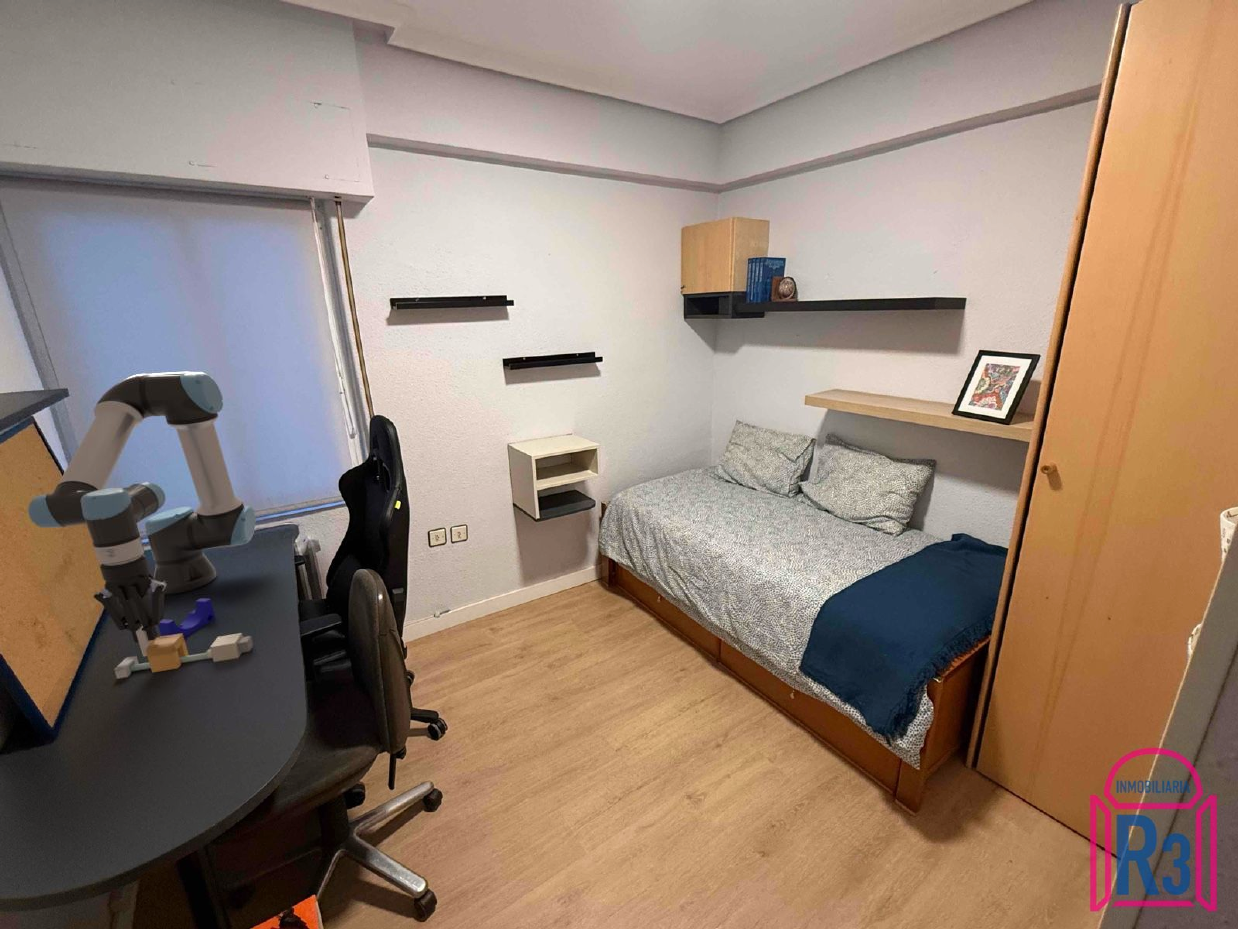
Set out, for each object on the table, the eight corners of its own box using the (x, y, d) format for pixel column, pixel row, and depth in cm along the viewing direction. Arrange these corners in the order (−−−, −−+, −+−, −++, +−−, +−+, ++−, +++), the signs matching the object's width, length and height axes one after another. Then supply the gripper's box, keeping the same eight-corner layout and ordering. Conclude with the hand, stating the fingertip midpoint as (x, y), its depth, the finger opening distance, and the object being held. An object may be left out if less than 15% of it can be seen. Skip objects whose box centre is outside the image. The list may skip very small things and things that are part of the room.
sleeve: (152, 672, 121) (145, 649, 119) (163, 659, 125) (157, 637, 124) (178, 668, 122) (171, 645, 120) (188, 655, 127) (182, 633, 125)
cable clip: (201, 617, 144) (195, 598, 142) (215, 618, 143) (210, 598, 142) (158, 643, 133) (152, 622, 131) (174, 644, 132) (168, 623, 130)
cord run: (116, 678, 119) (111, 663, 118) (128, 666, 123) (123, 651, 122) (248, 656, 126) (244, 641, 125) (255, 645, 130) (251, 631, 129)
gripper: (74, 570, 110) (105, 668, 117) (148, 561, 114) (175, 656, 120) (97, 556, 117) (125, 648, 124) (166, 548, 121) (191, 638, 127)
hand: (150, 652), depth 122 cm, fingers closed
